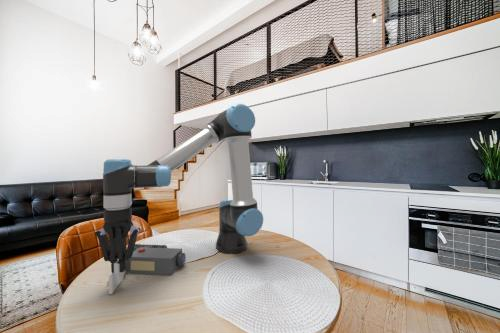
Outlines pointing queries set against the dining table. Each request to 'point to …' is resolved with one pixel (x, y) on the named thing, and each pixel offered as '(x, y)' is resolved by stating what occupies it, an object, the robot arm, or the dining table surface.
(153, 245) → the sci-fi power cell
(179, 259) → the camera body
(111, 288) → the side door
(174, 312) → the dining table surface
